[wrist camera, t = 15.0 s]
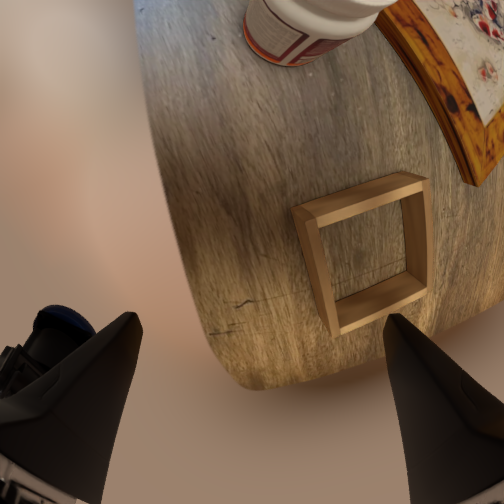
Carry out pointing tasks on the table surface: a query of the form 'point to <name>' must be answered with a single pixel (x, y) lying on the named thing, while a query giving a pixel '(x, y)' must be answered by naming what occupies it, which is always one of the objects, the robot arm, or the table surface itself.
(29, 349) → the robot arm
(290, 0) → the pill bottle
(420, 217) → the square wooden frame
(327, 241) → the table surface
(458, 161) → the picture frame
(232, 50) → the table surface
